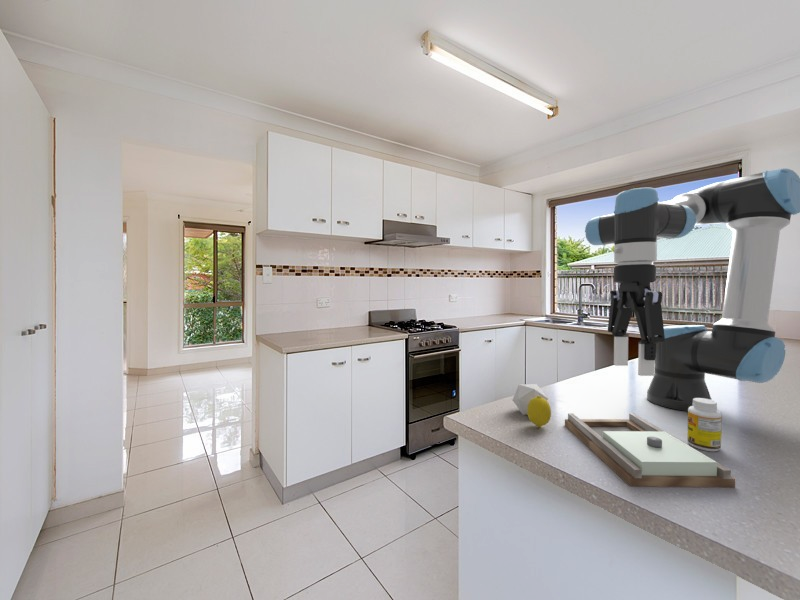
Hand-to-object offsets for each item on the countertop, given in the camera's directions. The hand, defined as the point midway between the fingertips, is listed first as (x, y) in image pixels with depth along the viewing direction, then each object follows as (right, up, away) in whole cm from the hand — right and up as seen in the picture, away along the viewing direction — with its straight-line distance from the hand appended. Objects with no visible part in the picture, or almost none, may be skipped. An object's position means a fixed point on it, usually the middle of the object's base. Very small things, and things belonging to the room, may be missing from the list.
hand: (632, 369), depth 76 cm
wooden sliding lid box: (0, -17, 0) cm, 17 cm away
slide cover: (0, -16, -7) cm, 17 cm away
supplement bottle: (+16, -17, +1) cm, 24 cm away
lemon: (-15, -17, +12) cm, 26 cm away
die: (-14, -17, +22) cm, 31 cm away
